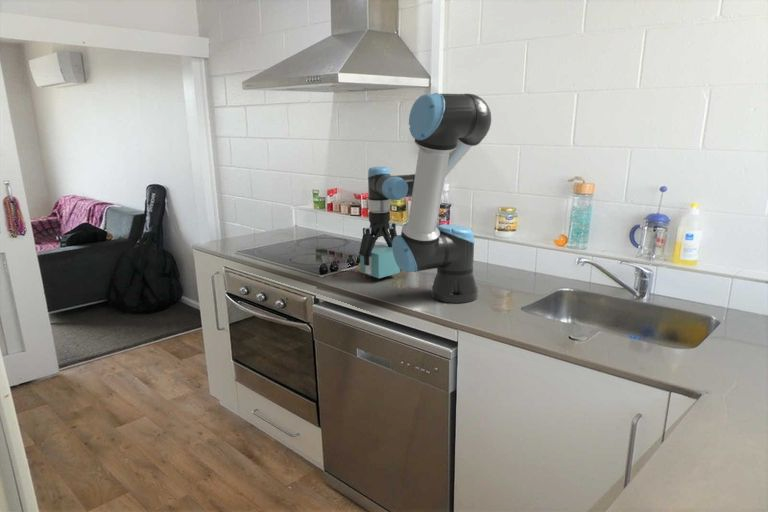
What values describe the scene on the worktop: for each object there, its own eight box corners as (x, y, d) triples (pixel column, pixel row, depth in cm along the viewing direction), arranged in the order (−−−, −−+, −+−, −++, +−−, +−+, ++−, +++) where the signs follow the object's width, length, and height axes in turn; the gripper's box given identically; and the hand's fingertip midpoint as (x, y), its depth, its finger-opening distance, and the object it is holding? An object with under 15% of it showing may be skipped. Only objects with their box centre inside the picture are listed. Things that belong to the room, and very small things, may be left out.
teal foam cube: (399, 272, 191) (399, 249, 188) (378, 278, 184) (378, 254, 182) (381, 266, 198) (381, 244, 196) (360, 272, 192) (360, 249, 189)
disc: (366, 267, 206) (366, 266, 206) (342, 273, 198) (342, 272, 198) (347, 261, 214) (347, 261, 214) (323, 267, 207) (323, 266, 207)
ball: (373, 273, 197) (373, 260, 196) (363, 275, 194) (363, 263, 193) (365, 270, 201) (365, 258, 200) (355, 273, 198) (355, 260, 196)
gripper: (395, 205, 195) (395, 262, 201) (347, 213, 180) (349, 274, 186) (409, 208, 189) (409, 266, 195) (361, 216, 175) (362, 279, 181)
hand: (380, 270), depth 191 cm, fingers closed on teal foam cube, 10 cm apart
